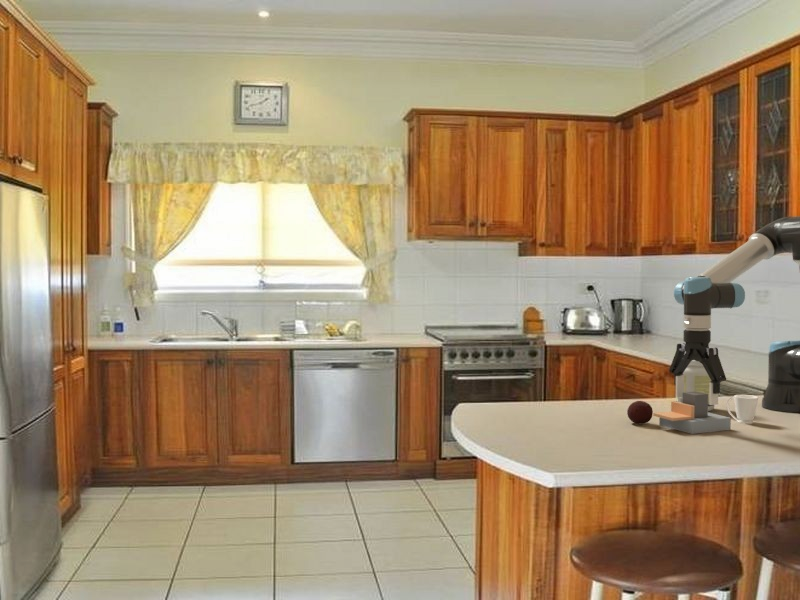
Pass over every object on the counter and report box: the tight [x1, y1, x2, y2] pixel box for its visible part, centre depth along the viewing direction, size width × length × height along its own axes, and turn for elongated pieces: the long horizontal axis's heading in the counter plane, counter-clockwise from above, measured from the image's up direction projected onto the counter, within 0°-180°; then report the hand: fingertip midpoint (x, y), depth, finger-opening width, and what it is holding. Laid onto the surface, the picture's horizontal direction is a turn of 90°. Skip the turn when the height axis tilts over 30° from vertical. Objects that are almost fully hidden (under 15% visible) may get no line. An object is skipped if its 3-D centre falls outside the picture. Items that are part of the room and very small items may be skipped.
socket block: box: [659, 412, 732, 435], centre depth 228 cm, size 15×13×4 cm
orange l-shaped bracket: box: [652, 400, 695, 421], centre depth 225 cm, size 8×8×4 cm
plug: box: [682, 391, 709, 419], centre depth 228 cm, size 5×5×9 cm
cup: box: [726, 394, 759, 425], centre depth 237 cm, size 7×10×8 cm
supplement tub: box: [675, 358, 715, 412], centre depth 257 cm, size 12×12×17 cm
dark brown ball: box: [626, 400, 654, 425], centre depth 232 cm, size 7×8×7 cm
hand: (696, 400), depth 228 cm, fingers open, 13 cm apart
